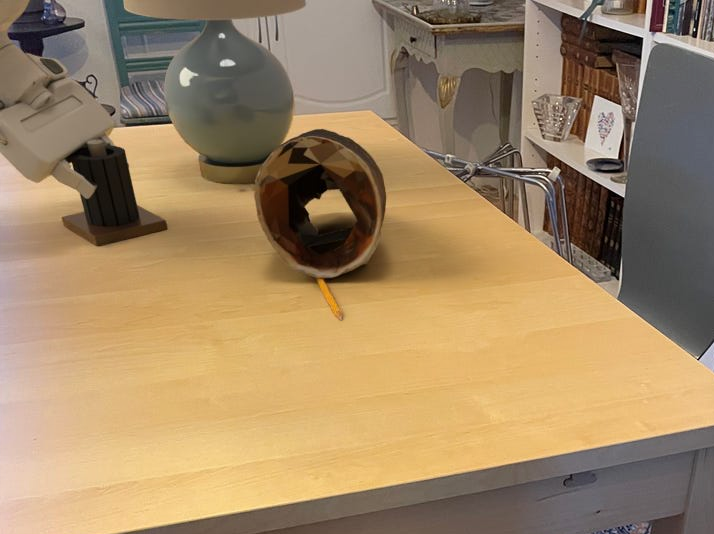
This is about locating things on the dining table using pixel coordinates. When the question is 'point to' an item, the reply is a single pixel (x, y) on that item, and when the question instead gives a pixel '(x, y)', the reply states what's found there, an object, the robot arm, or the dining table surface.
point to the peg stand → (120, 232)
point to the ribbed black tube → (107, 187)
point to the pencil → (329, 298)
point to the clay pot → (308, 176)
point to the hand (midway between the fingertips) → (109, 182)
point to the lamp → (226, 86)
